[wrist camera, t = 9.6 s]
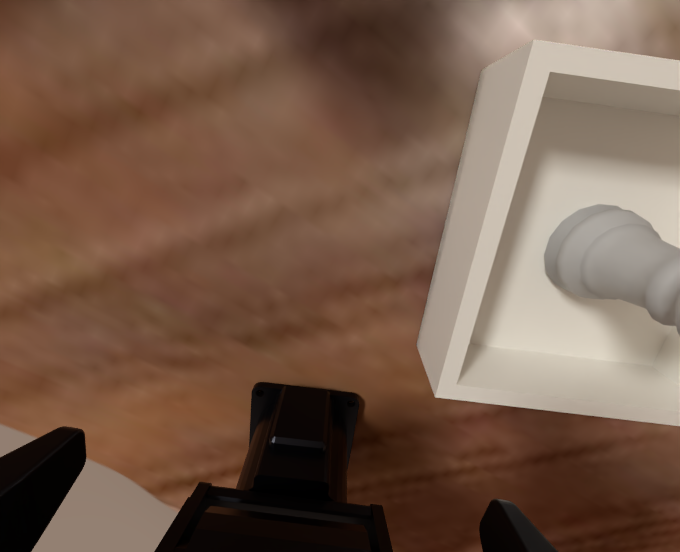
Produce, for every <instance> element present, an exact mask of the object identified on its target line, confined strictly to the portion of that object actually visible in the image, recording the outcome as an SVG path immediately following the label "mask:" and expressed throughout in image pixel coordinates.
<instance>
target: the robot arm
mask: <svg viewBox="0 0 680 552" xmlns="http://www.w3.org/2000/svg"><path fill="white" fill-rule="evenodd" d="M258 390H262V391H263V392H259V391H258ZM348 401H354V402H353V403H349V402H348ZM358 408H359V397H358V396H357V395H356V394H354V393H349V392H341V391H332V390H324V389H315V388H307V387H298V386H290V385H281V384H273V383H264V382H259V383H256V384H255V385H254V387H253V390H252V399H251V421H250V442H249V450H248V453H247V456H246V459H245V462H244V465H243V468H242V472H241V475H240V478H239V481H238V484H237V487H236V489H234V488H226V487H218V486H212V483H205V482H199V484H198V485H197V487H196V489H195V490H194V492H193V493H192V495H191V497H188V498H187V500H186V502H185V503H184V505H183V506H182V508H181V510H180V511H179V513H178V515H177V516H176V518H175V519H174V521H173V523H172V524H171V526H170V527H169V529H168V531H167V532H166V534H165V535H164V537H163V539H162V540H161V542H160V544H159V545H158V547H157V548H156V550H155V552H393V550H392V546H391V541H390V537H389V533H388V529H387V524H386V520H385V516H384V512H383V507H382V505H374V504H370V506H365V505H357V504H349V503H347V469H348V463H349V458H350V452H351V447H352V441H353V436H354V430H355V425H356V419H357V414H358ZM85 462H86V445H85V433H84V431H83V430H82V429H78V428H72V427H65V426H64V427H60V428H57V429H55V430H53V431H51V432H49V433H47V434H45V435H43V436H41V437H39V438H37V439H35V440H33V441H32V442H30V443H28V444H26V445H24V446H22V447H20V448H18V449H16V450H14V451H12V452H10V453H8V454H6V455H4V456H2V457H0V552H31V551H32V549H33V548H34V546H35V545H36V543H37V542H38V540H39V539H40V537H41V535H42V534H43V532H44V531H45V529H46V527H47V526H48V524H49V523H50V521H51V519H52V518H53V516H54V514H55V513H56V511H57V510H58V508H59V506H60V505H61V503H62V502H63V500H64V498H65V497H66V495H67V493H68V492H69V490H70V489H71V487H72V485H73V483H74V482H75V480H76V479H77V477H78V476H79V474H80V472H81V471H82V469H83V467H84V465H85ZM479 531H480V539H481V544H482V549H483V552H558V551H557V550H556V549H555V548H554V547H553V546H552V544H551V543H550V542H549V541H548V540H547V539H546V538H545V537H544V536H543V535H542V533H541V532H540V531H539V530H538V529H537V528H536V527H535V526H534V525H533V524H532V523H531V521H530V520H529V519H528V518H527V517H526V516H525V515H524V514H523V513H522V512H521V510H520V509H519V508H518V507H517V506H516V505H515V504H514V503H512V502H511V501H507V500H501V499H493V500H492V501H491V502H490V504H489V506H488V508H487V510H486V512H485V514H484V516H483V518H482V520H481V522H480V528H479Z"/></svg>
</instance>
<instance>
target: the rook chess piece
mask: <svg viewBox="0 0 680 552" xmlns="http://www.w3.org/2000/svg"><path fill="white" fill-rule="evenodd" d="M544 259H545V268H546V272H547V273H548V275H549V276H550V278H551V279H552V281H553V282H554V284H556V285H558V286H560V287H562V288H563V289H565V290H567V291H570V292H572V293H574V294H575V295H577V296H579V297H583V298H590V299H600V300H604V299H613V300H616V299H620V300H623V301H626V302H629V303H632V304H634V305H637V306H640V307H643V308H645V309H647V311H648V312H649V314H650V316H651V318H652V319H654V320H655V321H657V322H659V323H661V324H662V325H667V326H676V328H677V332H678V334H679V335H680V249H679V248H677V247H675V246H673V245H671V244H669V243H667V242H665V241H663V240H662V239H661V237H660V236H659V234H658V232H656V231H654V229H653V227H652V225H651V223H650V222H648V221H647V220H645V219H644V218H642V217H641V216H639V215H637V214H636V213H634V212H633V211H631V210H623V209H621V208H620V207H618V206H613V205H604V204H597V205H593V206H590V207H586V208H583V209H579V210H578V211H576V212H575V213H573V214H572V215H570V216H569V217H567V218H566V219H564V220H563V221H562V222H561V223H560V224H559V226H558V227H557V228H556V229H555V231H554V232H553V233H552V235H551V236H550V237H549V241H548V244H547V247H546V250H545V253H544Z"/></svg>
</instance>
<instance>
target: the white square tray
mask: <svg viewBox="0 0 680 552" xmlns="http://www.w3.org/2000/svg"><path fill="white" fill-rule="evenodd" d="M597 204H604V205H613V206H618V207H620V208H621V209H623V210H631V211H633V212H634V213H636V214H637V215H639V216H641V217H642V218H644V219H645V220H647V221H648V222H650V223H651V225H652V227H653V229H654V231H656V232H658V234H659V236H660V237H661V239H662V240H663V241H665V242H667V243H669V244H671V245H673V246H675V247H677V248H679V249H680V61H679V60H672V59H665V58H658V57H651V56H644V55H638V54H631V53H624V52H617V51H610V50H603V49H597V48H590V47H583V46H576V45H569V44H563V43H556V42H549V41H542V40H535V39H534V40H532V41H530V42H528V43H527V44H525V45H523V46H522V47H520V48H518V49H517V50H515V51H513V52H511V53H510V54H508V55H506V56H505V57H503V58H501V59H500V60H498V61H496V62H494V63H493V64H491V65H489V66H488V67H486V68H484V69H483V70H481V74H480V79H479V83H478V87H477V91H476V96H475V100H474V104H473V108H472V112H471V117H470V121H469V125H468V129H467V133H466V138H465V142H464V146H463V150H462V155H461V159H460V163H459V167H458V171H457V176H456V180H455V184H454V188H453V193H452V197H451V201H450V205H449V209H448V214H447V218H446V222H445V226H444V231H443V235H442V239H441V243H440V247H439V252H438V256H437V260H436V264H435V268H434V273H433V277H432V281H431V285H430V290H429V294H428V298H427V302H426V306H425V311H424V315H423V319H422V323H421V328H420V332H419V336H418V340H417V344H416V345H417V348H418V350H419V353H420V356H421V359H422V362H423V365H424V367H425V370H426V373H427V376H428V379H429V381H430V384H431V387H432V390H433V393H434V396H435V397H437V398H446V399H454V400H463V401H471V402H479V403H488V404H496V405H505V406H513V407H522V408H530V409H539V410H547V411H556V412H564V413H572V414H581V415H589V416H598V417H606V418H615V419H623V420H632V421H640V422H649V423H657V424H665V425H674V426H680V335H679V334H678V332H677V328H676V326H667V325H662V324H661V323H659V322H657V321H655V320H654V319H652V318H651V316H650V314H649V312H648V311H647V309H645V308H643V307H640V306H637V305H634V304H632V303H629V302H626V301H623V300H620V299H616V300H613V299H604V300H600V299H590V298H583V297H579V296H577V295H575V294H574V293H572V292H570V291H567V290H565V289H563V288H562V287H560V286H558V285H556V284H554V282H553V281H552V279H551V278H550V276H549V275H548V273H547V272H546V268H545V259H544V253H545V250H546V247H547V244H548V241H549V237H550V236H551V235H552V233H553V232H554V231H555V229H556V228H557V227H558V226H559V224H560V223H561V222H562V221H563V220H564V219H566V218H567V217H569V216H570V215H572V214H573V213H575V212H576V211H578V210H579V209H583V208H586V207H590V206H593V205H597Z"/></svg>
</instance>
